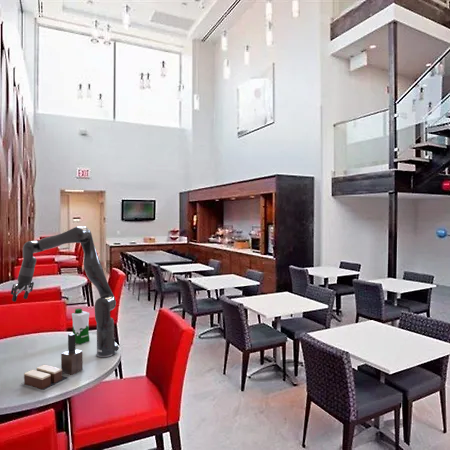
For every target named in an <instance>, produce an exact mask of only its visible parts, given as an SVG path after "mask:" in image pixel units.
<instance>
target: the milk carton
mask: <svg viewBox="0 0 450 450" xmlns="http://www.w3.org/2000/svg"><path fill="white" fill-rule="evenodd" d="M71 319H72V334H75V344H76V345H82V344H85V343H88V342H90V331H89V330H90V329H89V328H90V324H89V323H90V322H89V320H90V312H89V311H84V310H83V308H75V309H74V312H73V313H71Z"/></svg>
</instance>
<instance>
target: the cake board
mask: <svg viewBox="0 0 450 450" xmlns="http://www.w3.org/2000/svg"><path fill="white" fill-rule="evenodd" d="M67 379H69V377H68V376H64V375H62V379H61V380H59V381H57V382H55V383H53V382H51V385H49V386H47V387H45V388H43V389H41V388H37V387H34V386H30V385H27V384H24V382H22V383H21V385H24V386H27V387H31V388H34V389H38V390H40V391H45V390H48V389H49V388H51V387H53V386H55V385H58V384H59V383H61V382H63V381H65V380H67Z"/></svg>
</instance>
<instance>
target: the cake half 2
mask: <svg viewBox="0 0 450 450" xmlns="http://www.w3.org/2000/svg"><path fill="white" fill-rule="evenodd" d="M36 371H40V372H44V373H48V374H51V382H53V383H55V382H57V381H59V380H61V379H62V376H63V373H62V369H61V368H60V367H56V366H52V365H48V364H42V365H40V366H38V367H36Z"/></svg>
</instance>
